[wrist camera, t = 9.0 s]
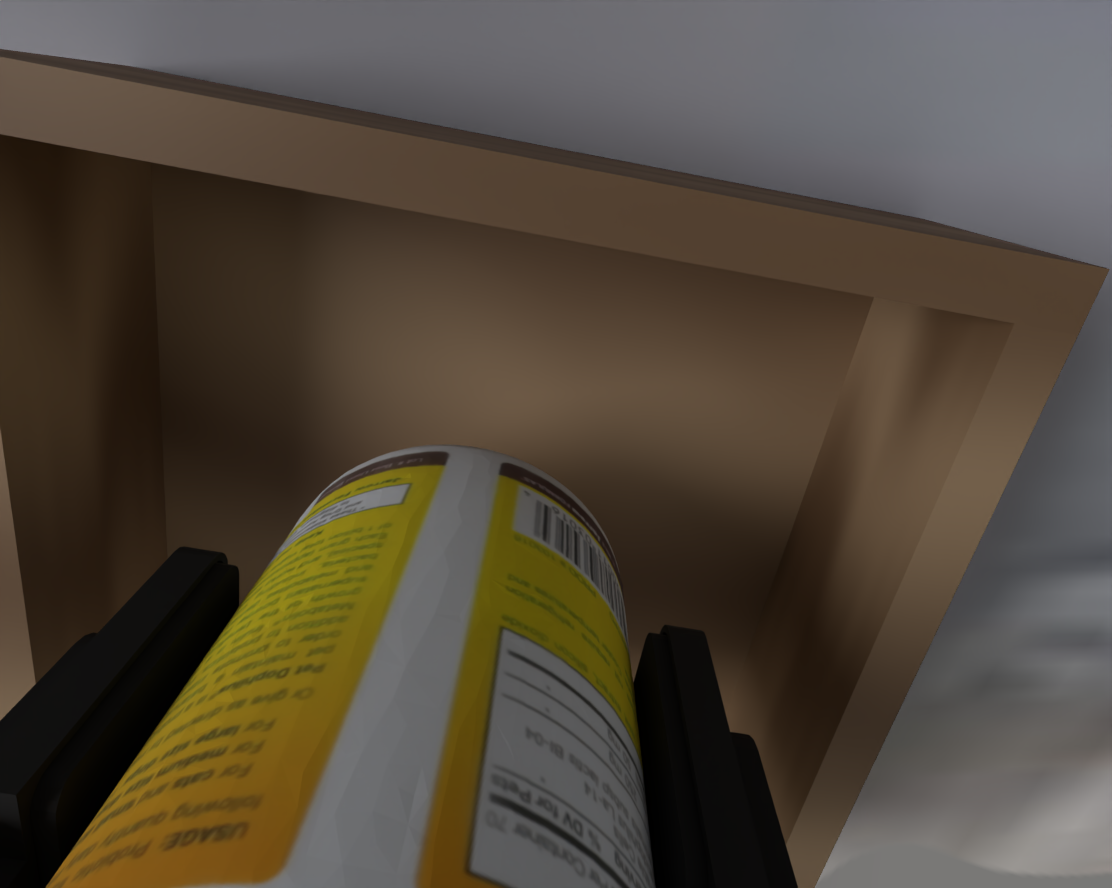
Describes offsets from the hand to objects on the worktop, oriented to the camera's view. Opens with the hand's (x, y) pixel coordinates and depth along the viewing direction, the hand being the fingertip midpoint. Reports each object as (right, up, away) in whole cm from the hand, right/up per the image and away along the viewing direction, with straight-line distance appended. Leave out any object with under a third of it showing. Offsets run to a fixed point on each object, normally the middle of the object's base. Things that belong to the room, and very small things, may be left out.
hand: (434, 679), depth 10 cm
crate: (0, +2, +5) cm, 6 cm away
